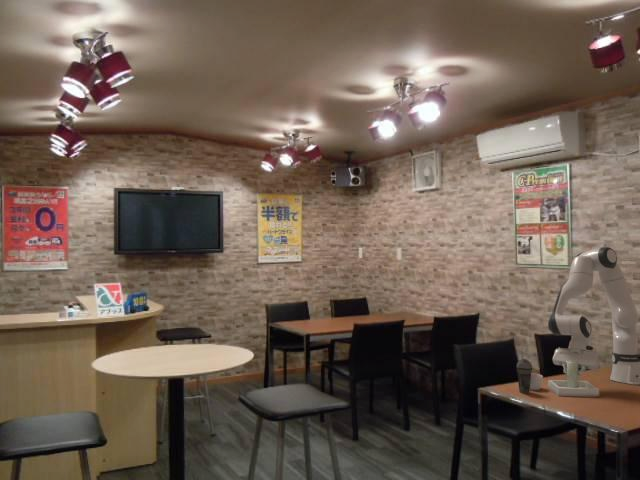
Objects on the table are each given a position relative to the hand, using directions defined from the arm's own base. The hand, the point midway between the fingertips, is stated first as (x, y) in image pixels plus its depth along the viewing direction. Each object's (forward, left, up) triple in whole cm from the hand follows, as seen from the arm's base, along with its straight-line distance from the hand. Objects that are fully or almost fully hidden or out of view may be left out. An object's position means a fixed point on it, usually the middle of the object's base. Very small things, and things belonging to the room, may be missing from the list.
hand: (572, 373), depth 262 cm
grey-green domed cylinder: (0, 0, -7) cm, 7 cm away
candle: (+17, -5, -9) cm, 20 cm away
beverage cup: (+23, +3, -9) cm, 25 cm away
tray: (0, 0, -9) cm, 9 cm away
